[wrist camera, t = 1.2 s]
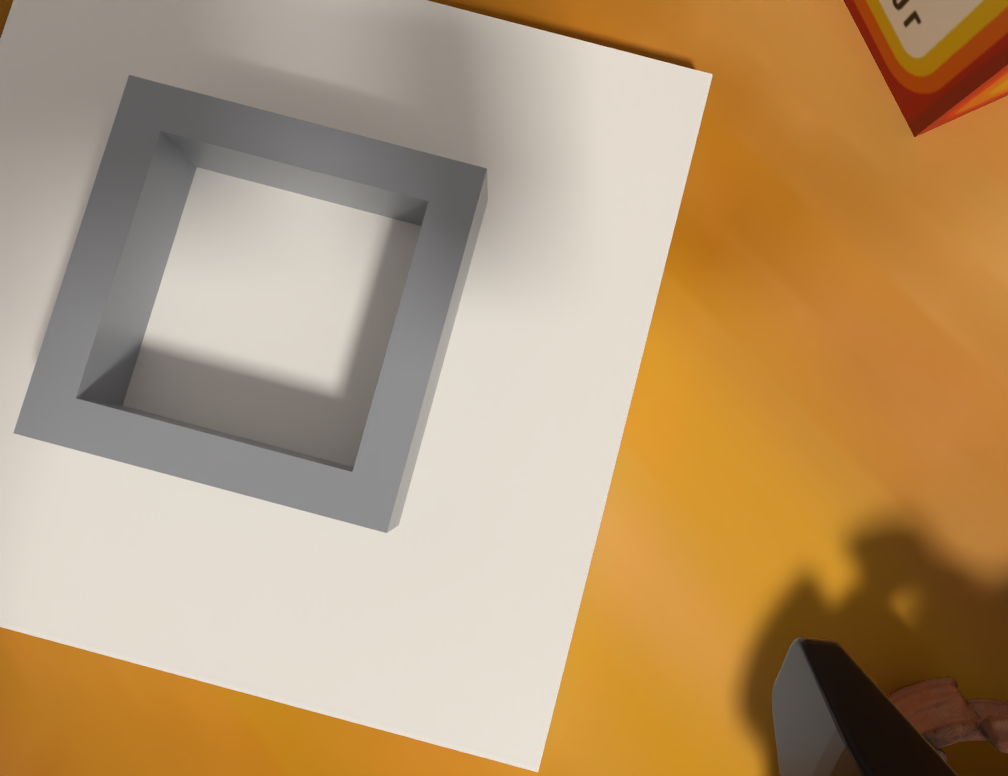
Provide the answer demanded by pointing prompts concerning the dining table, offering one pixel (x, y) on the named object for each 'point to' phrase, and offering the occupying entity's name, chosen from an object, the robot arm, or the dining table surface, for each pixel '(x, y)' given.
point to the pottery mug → (952, 714)
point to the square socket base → (324, 343)
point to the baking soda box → (937, 54)
